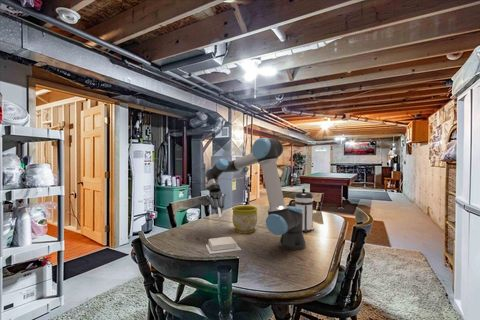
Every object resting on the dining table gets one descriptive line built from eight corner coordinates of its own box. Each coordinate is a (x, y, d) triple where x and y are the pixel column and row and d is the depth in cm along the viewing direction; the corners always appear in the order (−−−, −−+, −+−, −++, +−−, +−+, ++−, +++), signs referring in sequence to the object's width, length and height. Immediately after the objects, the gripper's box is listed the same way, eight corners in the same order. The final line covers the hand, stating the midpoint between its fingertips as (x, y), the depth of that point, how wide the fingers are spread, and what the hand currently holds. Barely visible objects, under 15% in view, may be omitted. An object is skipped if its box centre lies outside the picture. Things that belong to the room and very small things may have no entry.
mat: (205, 245, 147) (205, 244, 147) (234, 242, 153) (234, 241, 153) (210, 254, 134) (210, 253, 134) (241, 250, 139) (241, 249, 139)
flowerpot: (247, 236, 163) (247, 211, 163) (227, 231, 174) (226, 208, 174) (262, 229, 178) (262, 207, 177) (242, 225, 188) (242, 204, 188)
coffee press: (311, 227, 185) (312, 187, 184) (316, 233, 169) (316, 190, 168) (288, 226, 186) (288, 186, 186) (290, 233, 170) (290, 189, 170)
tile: (208, 238, 148) (212, 245, 137) (230, 236, 153) (236, 243, 141) (208, 243, 148) (212, 251, 137) (230, 241, 153) (236, 248, 141)
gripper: (222, 190, 170) (229, 220, 154) (203, 191, 165) (208, 222, 150) (224, 183, 164) (231, 213, 149) (205, 184, 160) (210, 215, 145)
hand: (220, 217), depth 149 cm, fingers closed
